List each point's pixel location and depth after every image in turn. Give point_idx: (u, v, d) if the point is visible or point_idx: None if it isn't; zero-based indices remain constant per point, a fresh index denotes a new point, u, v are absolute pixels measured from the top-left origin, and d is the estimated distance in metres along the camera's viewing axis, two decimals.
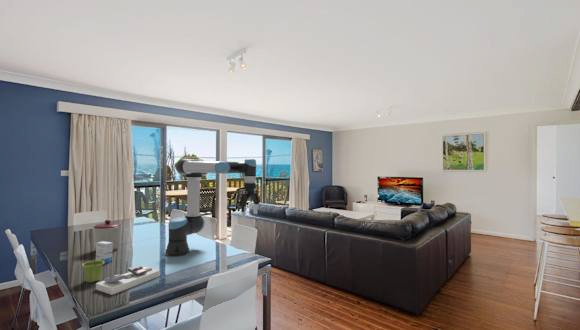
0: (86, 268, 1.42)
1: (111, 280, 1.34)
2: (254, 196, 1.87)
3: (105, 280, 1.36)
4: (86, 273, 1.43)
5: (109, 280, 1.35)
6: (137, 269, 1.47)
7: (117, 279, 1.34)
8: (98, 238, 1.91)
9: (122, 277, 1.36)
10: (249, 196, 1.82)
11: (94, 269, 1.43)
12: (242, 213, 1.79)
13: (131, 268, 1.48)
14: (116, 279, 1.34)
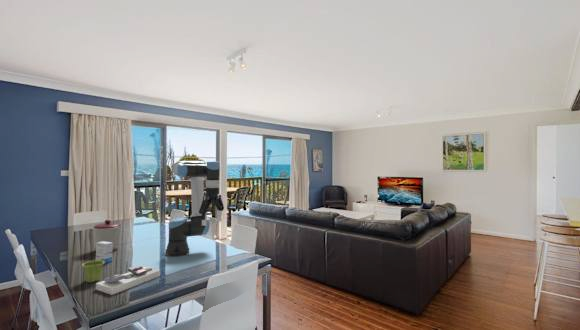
0: (86, 268, 1.42)
1: (111, 280, 1.34)
2: (217, 202, 1.70)
3: (105, 280, 1.36)
4: (86, 273, 1.43)
5: (109, 280, 1.35)
6: (137, 269, 1.47)
7: (117, 279, 1.34)
8: (98, 238, 1.91)
9: (122, 277, 1.36)
10: (211, 202, 1.65)
11: (94, 269, 1.43)
12: (203, 221, 1.61)
13: (131, 268, 1.48)
14: (116, 279, 1.34)
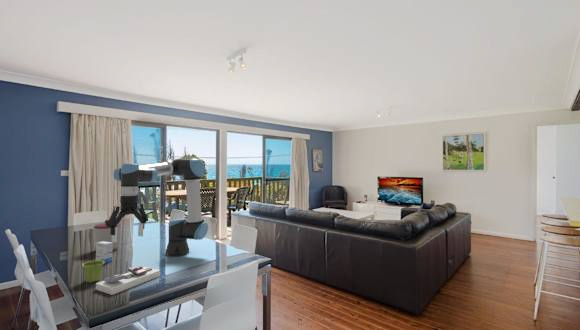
0: (86, 268, 1.42)
1: (111, 280, 1.34)
2: (136, 213, 1.41)
3: (105, 280, 1.36)
4: (86, 273, 1.43)
5: (109, 280, 1.35)
6: (137, 269, 1.47)
7: (117, 279, 1.34)
8: (98, 238, 1.91)
9: (122, 277, 1.36)
10: (125, 213, 1.35)
11: (93, 269, 1.43)
12: (112, 237, 1.32)
13: (131, 268, 1.48)
14: (116, 279, 1.34)
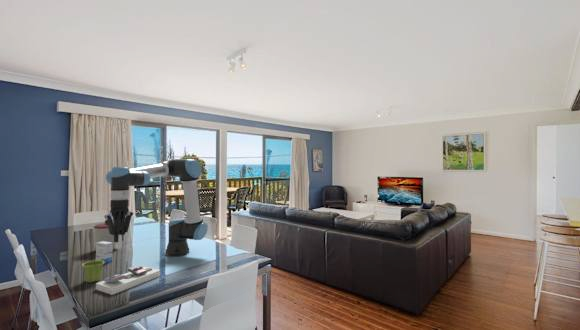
0: (86, 268, 1.42)
1: (111, 280, 1.34)
2: (123, 219, 1.36)
3: (105, 280, 1.36)
4: (86, 273, 1.43)
5: (109, 280, 1.35)
6: (137, 269, 1.47)
7: (117, 279, 1.34)
8: (98, 238, 1.91)
9: (122, 277, 1.36)
10: (119, 219, 1.34)
11: (94, 269, 1.43)
12: (116, 244, 1.36)
13: (131, 268, 1.48)
14: (116, 279, 1.34)
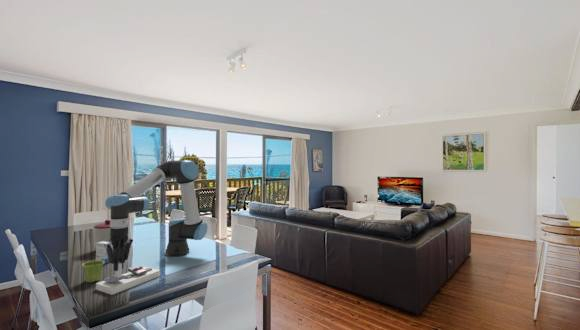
0: (86, 268, 1.42)
1: (111, 280, 1.34)
2: (122, 247, 1.36)
3: (105, 280, 1.36)
4: (86, 273, 1.43)
5: (109, 280, 1.35)
6: (137, 269, 1.47)
7: (117, 279, 1.34)
8: (98, 238, 1.91)
9: (122, 277, 1.36)
10: (118, 247, 1.34)
11: (94, 269, 1.43)
12: (116, 272, 1.35)
13: (131, 268, 1.48)
14: (116, 279, 1.34)
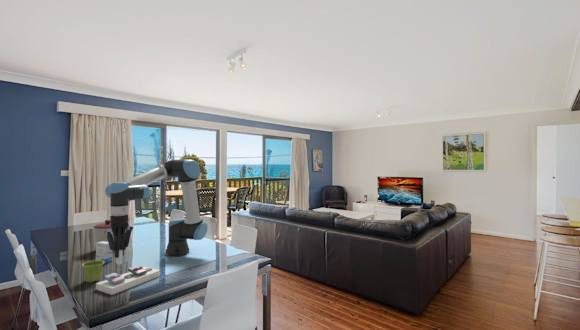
0: (86, 268, 1.42)
1: (111, 281, 1.34)
2: (123, 234, 1.36)
3: (105, 278, 1.36)
4: (86, 273, 1.43)
5: (109, 280, 1.35)
6: (137, 269, 1.47)
7: (117, 282, 1.34)
8: (98, 238, 1.91)
9: (122, 280, 1.36)
10: (119, 234, 1.35)
11: (93, 269, 1.43)
12: (116, 259, 1.36)
13: (131, 268, 1.48)
14: (116, 282, 1.34)
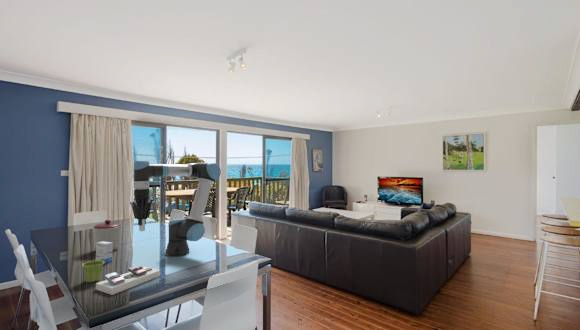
0: (86, 268, 1.42)
1: (111, 281, 1.34)
2: (145, 205, 1.58)
3: (105, 277, 1.36)
4: (86, 273, 1.43)
5: (109, 280, 1.35)
6: (137, 269, 1.47)
7: (117, 283, 1.34)
8: (98, 238, 1.91)
9: (122, 280, 1.36)
10: (142, 205, 1.57)
11: (94, 269, 1.43)
12: (140, 227, 1.58)
13: (131, 268, 1.48)
14: (116, 283, 1.34)
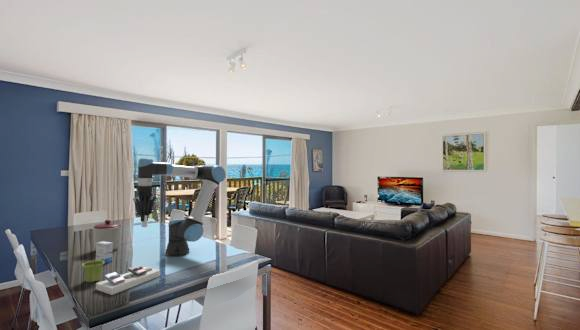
0: (86, 268, 1.42)
1: (111, 281, 1.34)
2: (148, 202, 1.62)
3: (105, 277, 1.36)
4: (86, 273, 1.43)
5: (109, 280, 1.35)
6: (137, 269, 1.47)
7: (117, 283, 1.34)
8: (98, 238, 1.91)
9: (122, 281, 1.36)
10: (145, 202, 1.61)
11: (94, 269, 1.43)
12: (142, 223, 1.62)
13: (131, 268, 1.48)
14: (116, 283, 1.34)
